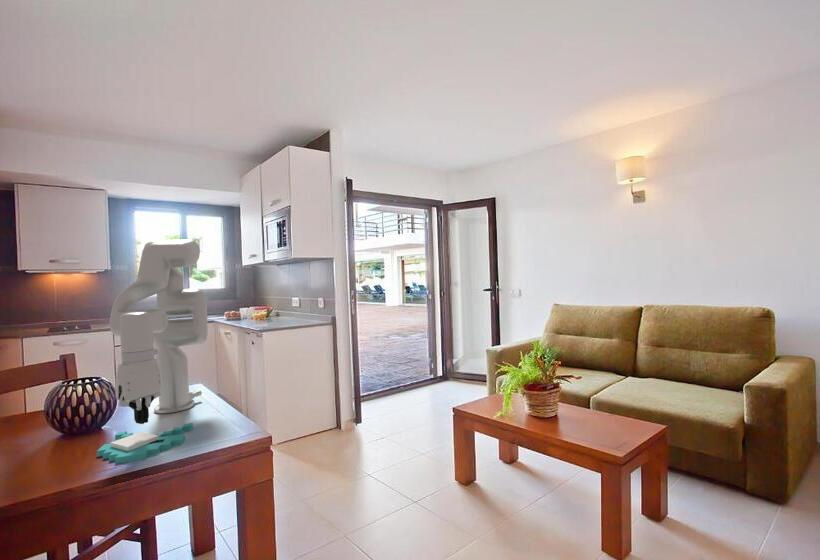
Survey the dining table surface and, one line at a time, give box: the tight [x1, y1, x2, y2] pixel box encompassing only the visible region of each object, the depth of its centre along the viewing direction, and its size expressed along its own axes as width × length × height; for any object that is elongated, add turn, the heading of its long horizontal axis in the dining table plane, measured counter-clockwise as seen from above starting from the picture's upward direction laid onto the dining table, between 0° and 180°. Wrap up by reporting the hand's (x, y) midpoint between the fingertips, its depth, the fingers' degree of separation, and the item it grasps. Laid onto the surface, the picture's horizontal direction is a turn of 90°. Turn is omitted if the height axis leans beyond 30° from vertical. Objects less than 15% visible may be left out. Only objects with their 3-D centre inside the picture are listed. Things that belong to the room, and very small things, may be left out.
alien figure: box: [96, 422, 194, 465], centre depth 115 cm, size 20×2×20 cm
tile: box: [109, 431, 158, 451], centre depth 113 cm, size 1×8×8 cm
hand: (141, 422), depth 115 cm, fingers closed
